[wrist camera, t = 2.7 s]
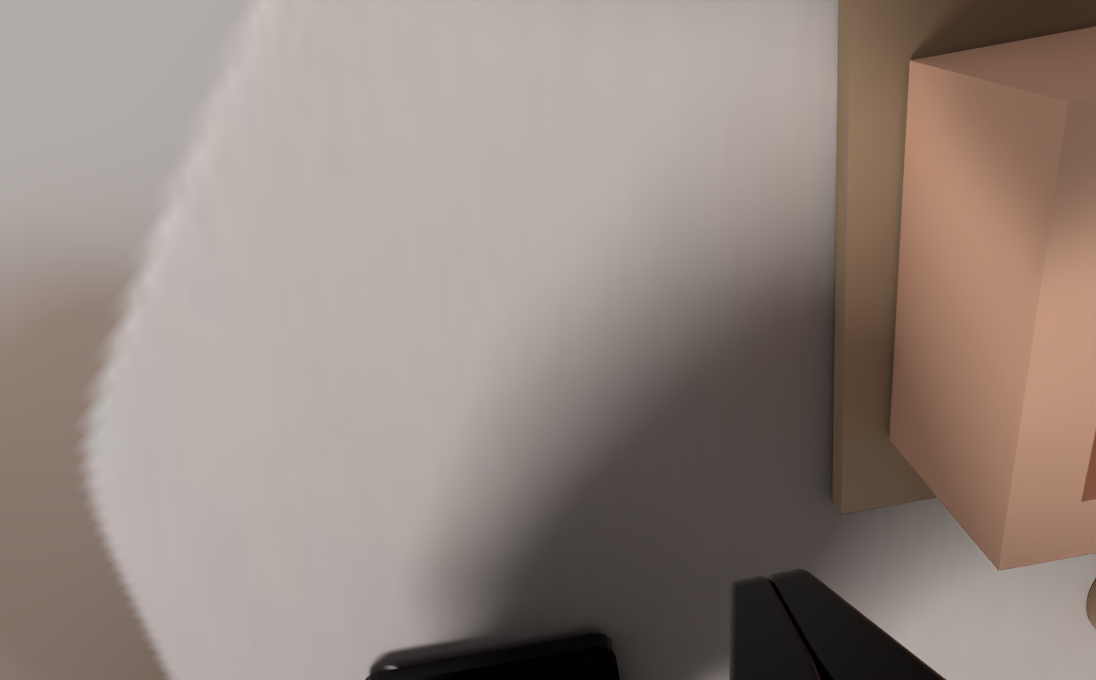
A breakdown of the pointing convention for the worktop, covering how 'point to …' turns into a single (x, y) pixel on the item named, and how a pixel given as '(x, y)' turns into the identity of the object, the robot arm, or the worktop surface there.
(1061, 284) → the slider block
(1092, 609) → the dowel
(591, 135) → the worktop surface
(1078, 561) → the worktop surface
